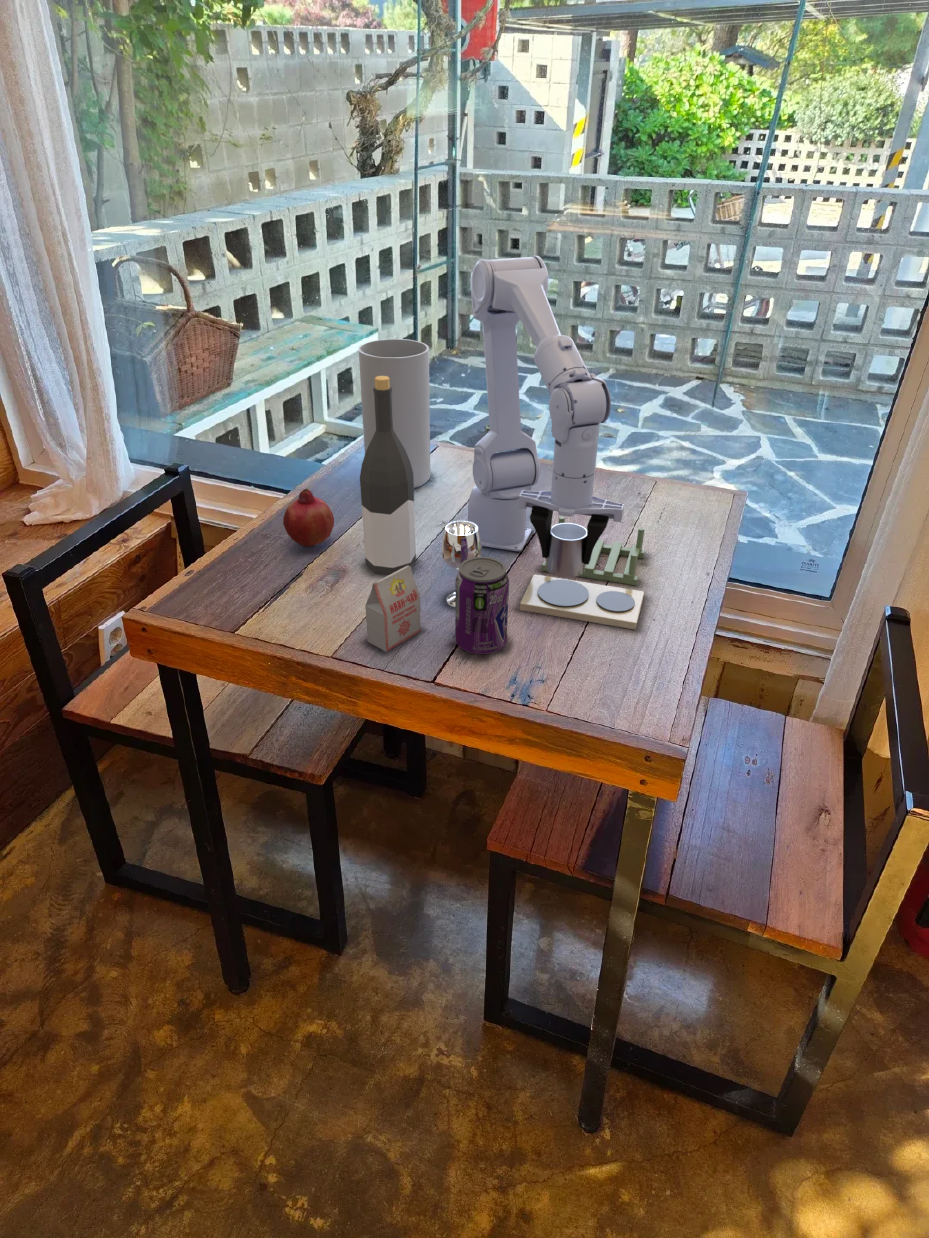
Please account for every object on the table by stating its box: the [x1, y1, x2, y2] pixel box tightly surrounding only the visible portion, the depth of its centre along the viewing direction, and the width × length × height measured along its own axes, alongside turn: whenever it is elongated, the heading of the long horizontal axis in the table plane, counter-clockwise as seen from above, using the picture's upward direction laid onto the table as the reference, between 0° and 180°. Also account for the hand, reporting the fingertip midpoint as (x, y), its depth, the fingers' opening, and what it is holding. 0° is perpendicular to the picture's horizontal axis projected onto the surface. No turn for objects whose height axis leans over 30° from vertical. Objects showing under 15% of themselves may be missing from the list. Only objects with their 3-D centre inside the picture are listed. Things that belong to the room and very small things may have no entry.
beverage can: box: [454, 556, 510, 655], centre depth 110 cm, size 7×7×12 cm
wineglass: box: [441, 520, 483, 608], centre depth 120 cm, size 6×6×12 cm
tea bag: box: [364, 565, 422, 652], centre depth 112 cm, size 4×7×10 cm, turn 139°
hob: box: [519, 573, 645, 631], centre depth 122 cm, size 17×9×2 cm, turn 73°
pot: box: [547, 522, 587, 579], centre depth 118 cm, size 6×6×6 cm
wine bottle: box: [359, 376, 417, 576], centre depth 124 cm, size 8×8×30 cm
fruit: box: [282, 488, 335, 548], centre depth 135 cm, size 8×8×10 cm
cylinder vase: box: [358, 338, 432, 489], centre depth 153 cm, size 12×12×25 cm
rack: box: [541, 515, 646, 586], centre depth 132 cm, size 15×10×5 cm
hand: (566, 557), depth 119 cm, fingers closed on pot, 5 cm apart
